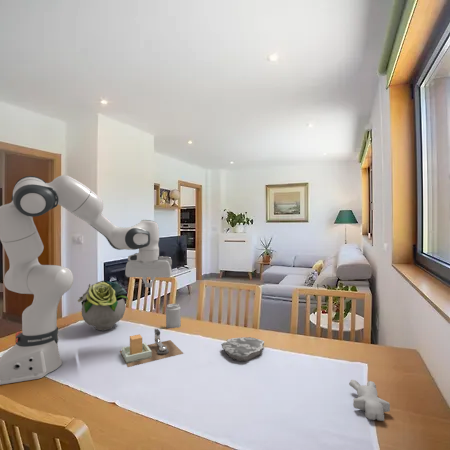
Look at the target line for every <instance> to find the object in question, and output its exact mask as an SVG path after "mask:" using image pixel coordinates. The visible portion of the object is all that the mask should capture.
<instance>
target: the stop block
mask: <svg viewBox="0 0 450 450" xmlns="http://www.w3.org/2000/svg"><path fill="white" fill-rule="evenodd" d="M142 343H143V337H142V335H141V334H133V335H130V336H129V346H130V355H133V354H137V353H142Z"/></svg>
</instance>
